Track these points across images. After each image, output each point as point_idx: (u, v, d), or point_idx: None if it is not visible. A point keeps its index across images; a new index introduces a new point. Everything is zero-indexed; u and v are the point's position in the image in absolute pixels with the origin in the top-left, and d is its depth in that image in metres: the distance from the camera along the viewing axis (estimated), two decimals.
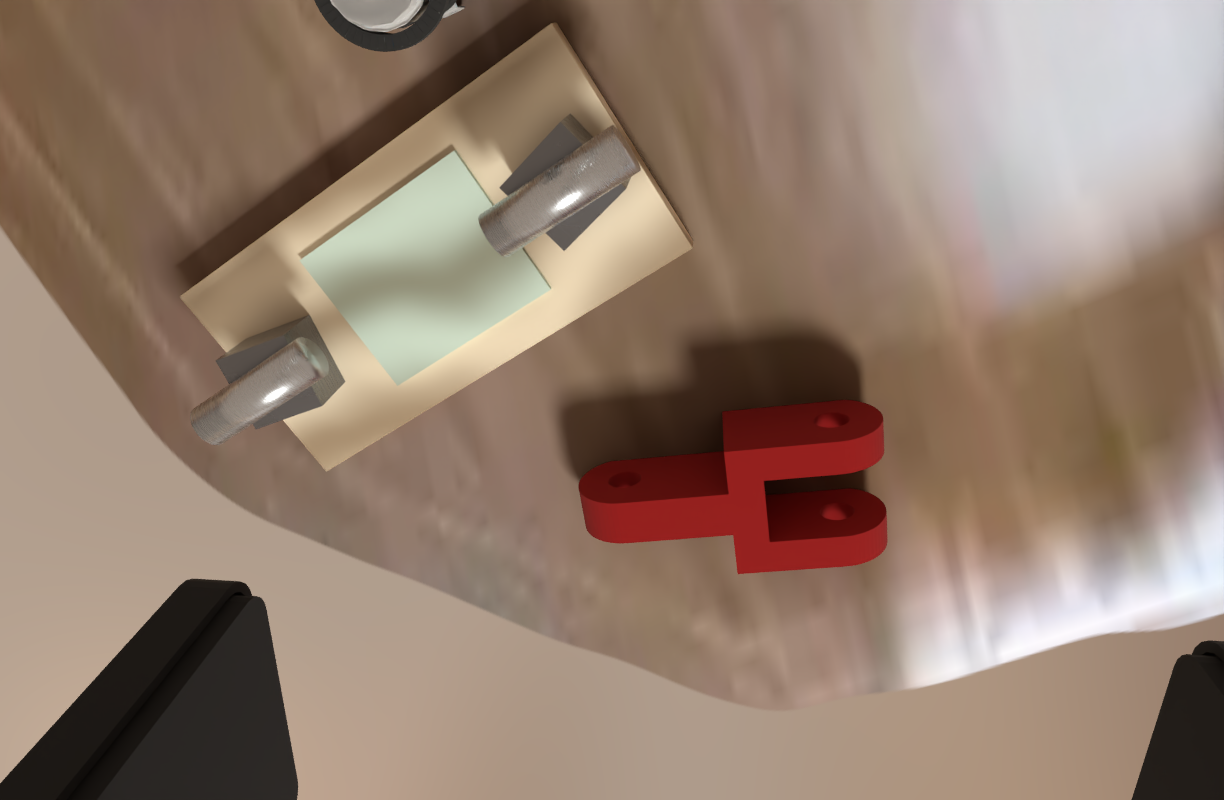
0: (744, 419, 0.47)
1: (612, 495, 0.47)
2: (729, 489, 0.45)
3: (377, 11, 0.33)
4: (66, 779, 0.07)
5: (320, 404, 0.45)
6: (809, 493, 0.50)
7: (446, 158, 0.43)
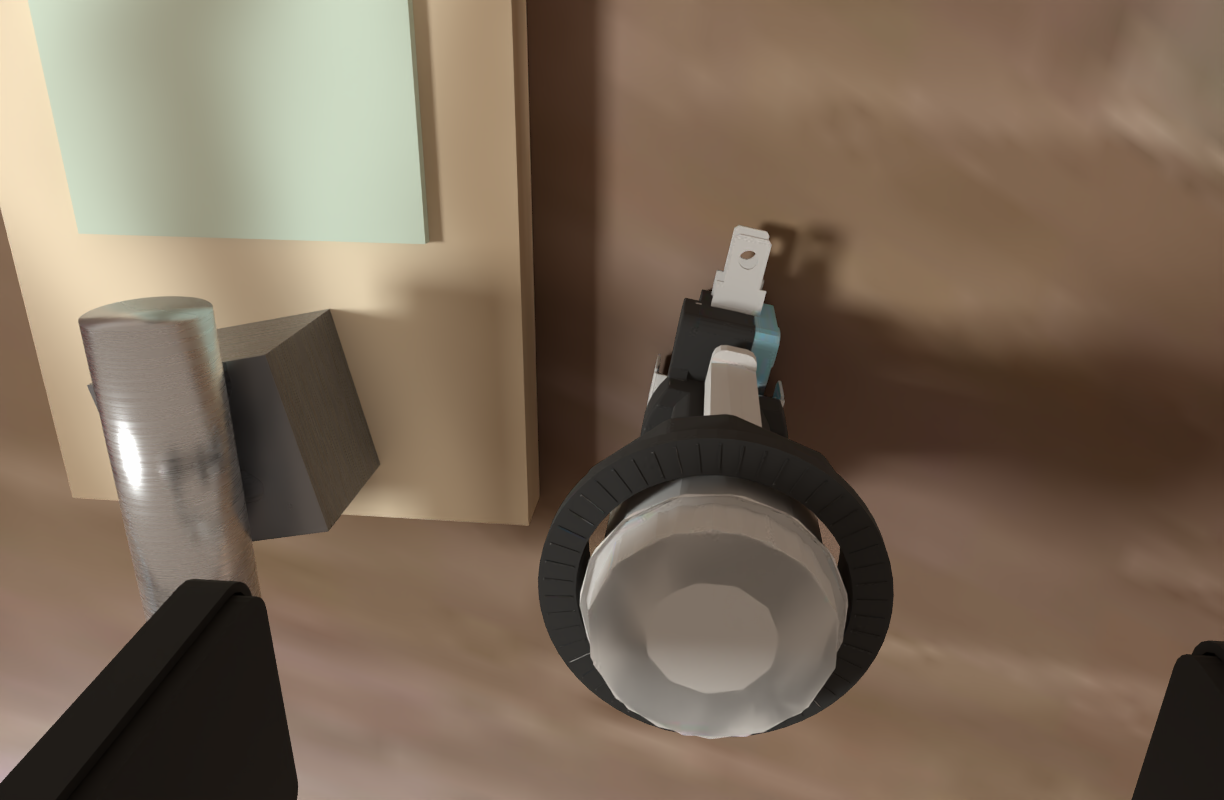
0: None
1: None
2: None
3: (629, 602, 0.13)
4: (66, 779, 0.07)
5: None
6: None
7: (420, 217, 0.19)
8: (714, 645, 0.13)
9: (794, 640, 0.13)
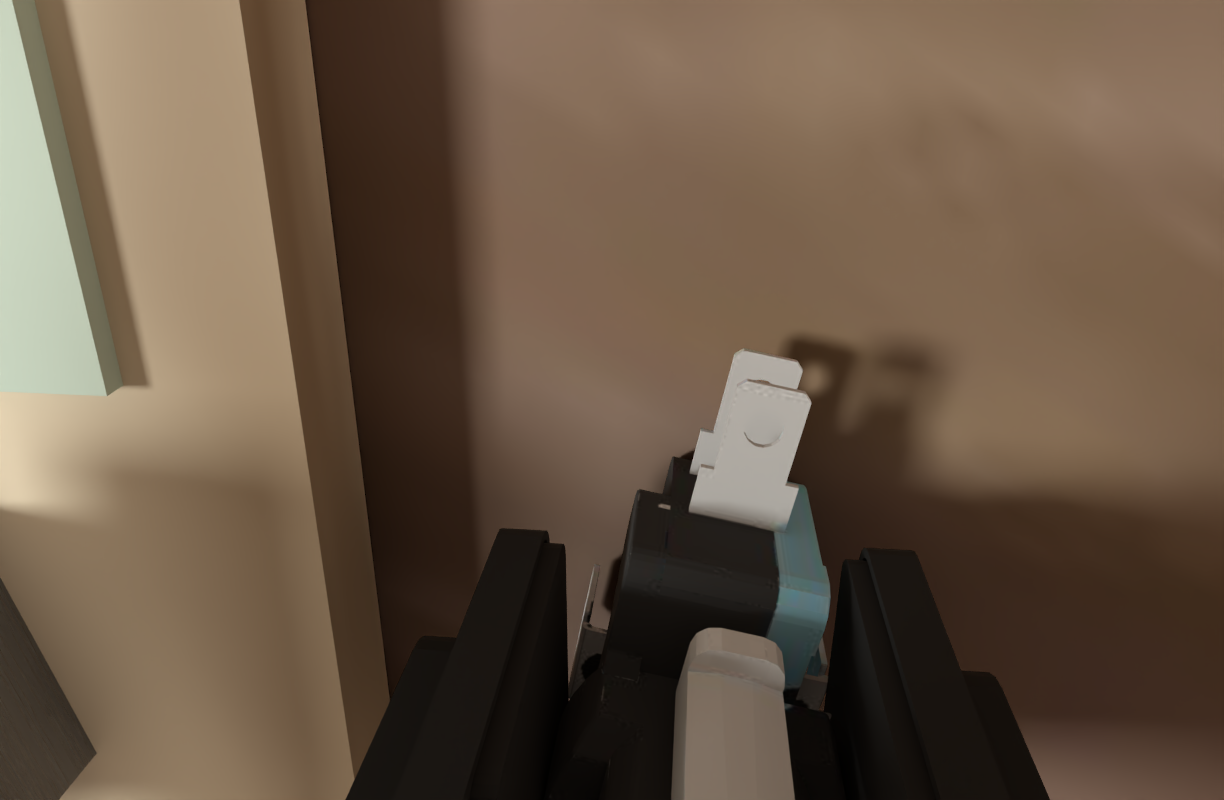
0: None
1: None
2: None
3: None
4: (490, 688, 0.08)
5: None
6: None
7: (92, 343, 0.10)
8: None
9: None
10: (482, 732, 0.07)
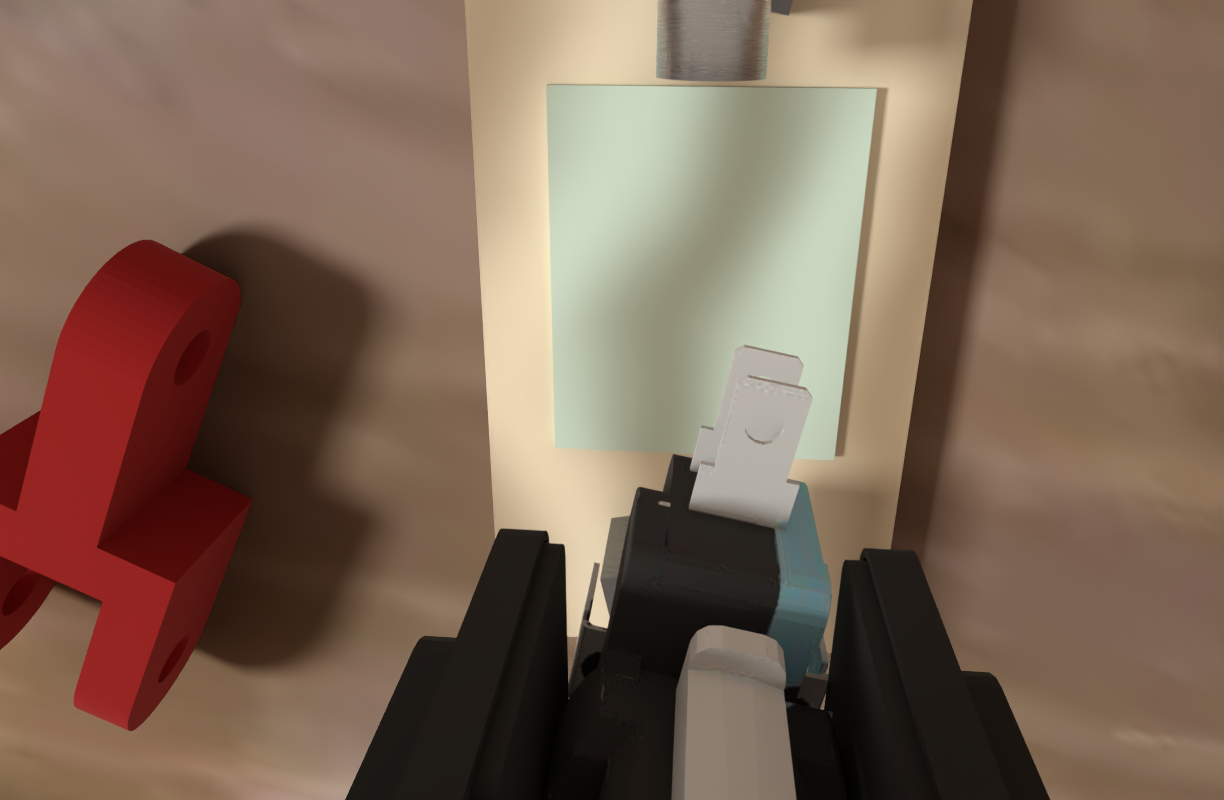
0: (224, 545, 0.29)
1: (166, 363, 0.24)
2: (105, 553, 0.26)
3: None
4: (489, 689, 0.08)
5: None
6: None
7: (832, 440, 0.25)
8: None
9: None
10: (482, 732, 0.07)
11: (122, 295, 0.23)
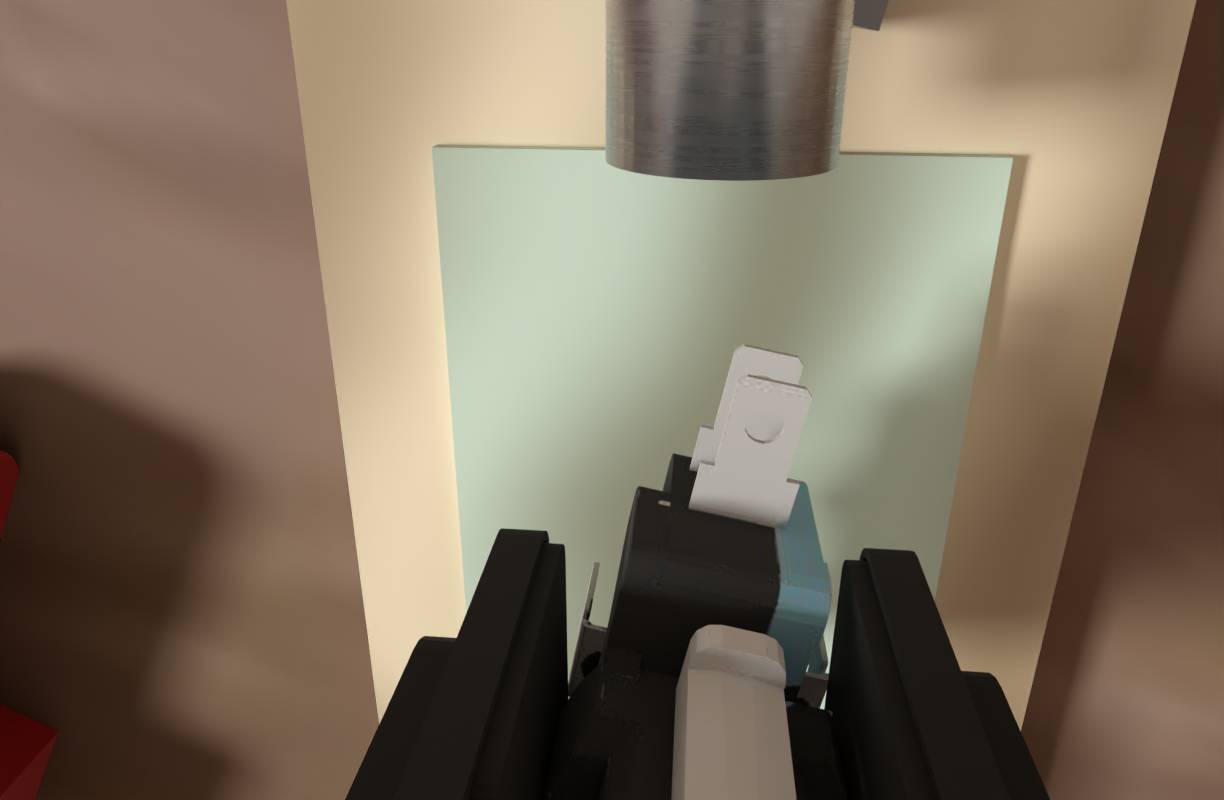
0: None
1: None
2: None
3: None
4: (490, 689, 0.08)
5: None
6: None
7: None
8: None
9: None
10: (482, 732, 0.07)
11: None
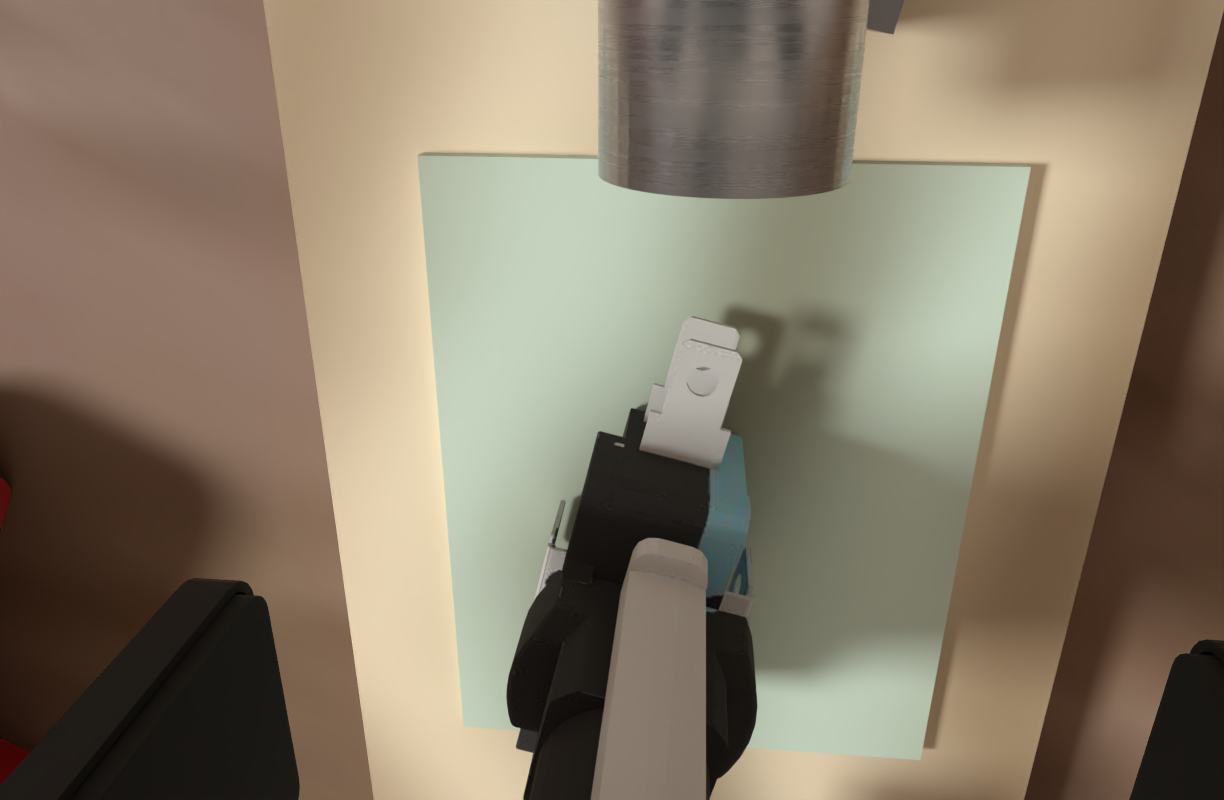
0: None
1: None
2: None
3: None
4: (69, 778, 0.07)
5: None
6: None
7: (918, 730, 0.15)
8: None
9: None
10: None
11: None
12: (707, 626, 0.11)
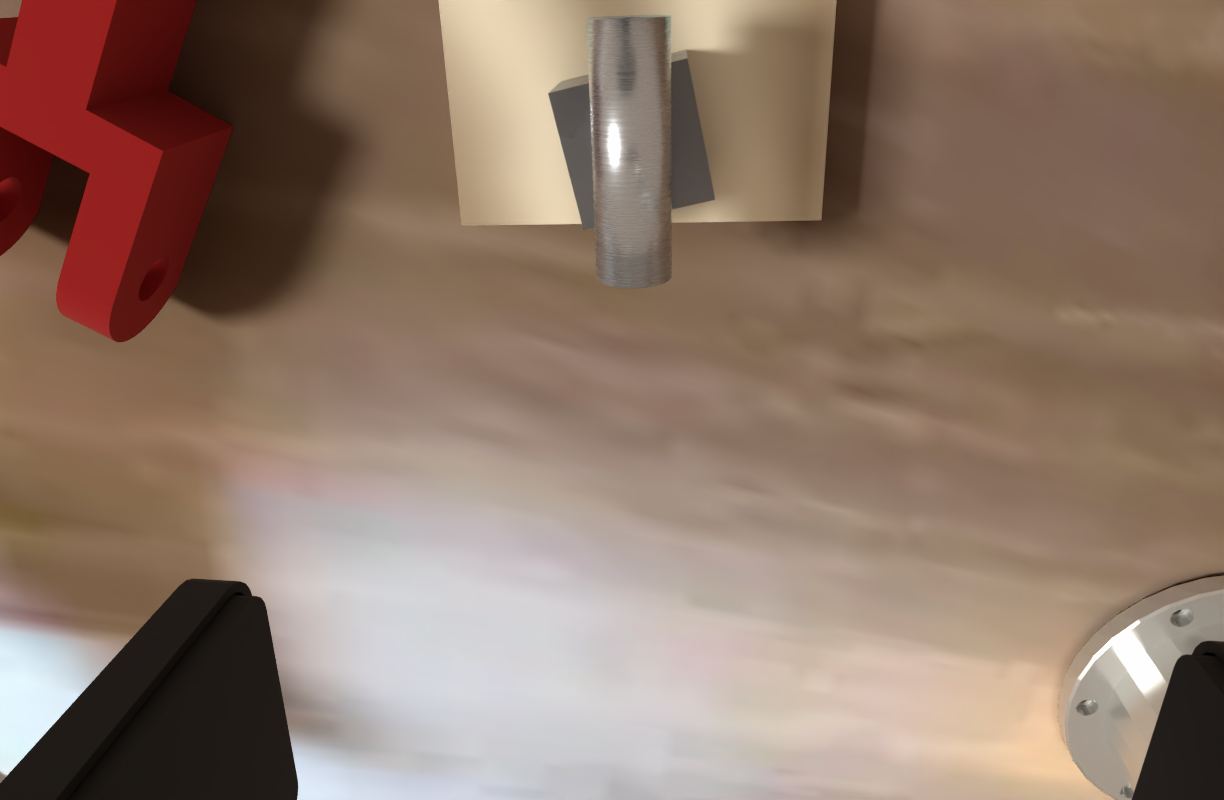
0: (206, 162, 0.30)
1: None
2: (94, 116, 0.26)
3: None
4: (66, 779, 0.07)
5: None
6: (50, 157, 0.32)
7: None
8: None
9: None
10: None
11: None
12: None
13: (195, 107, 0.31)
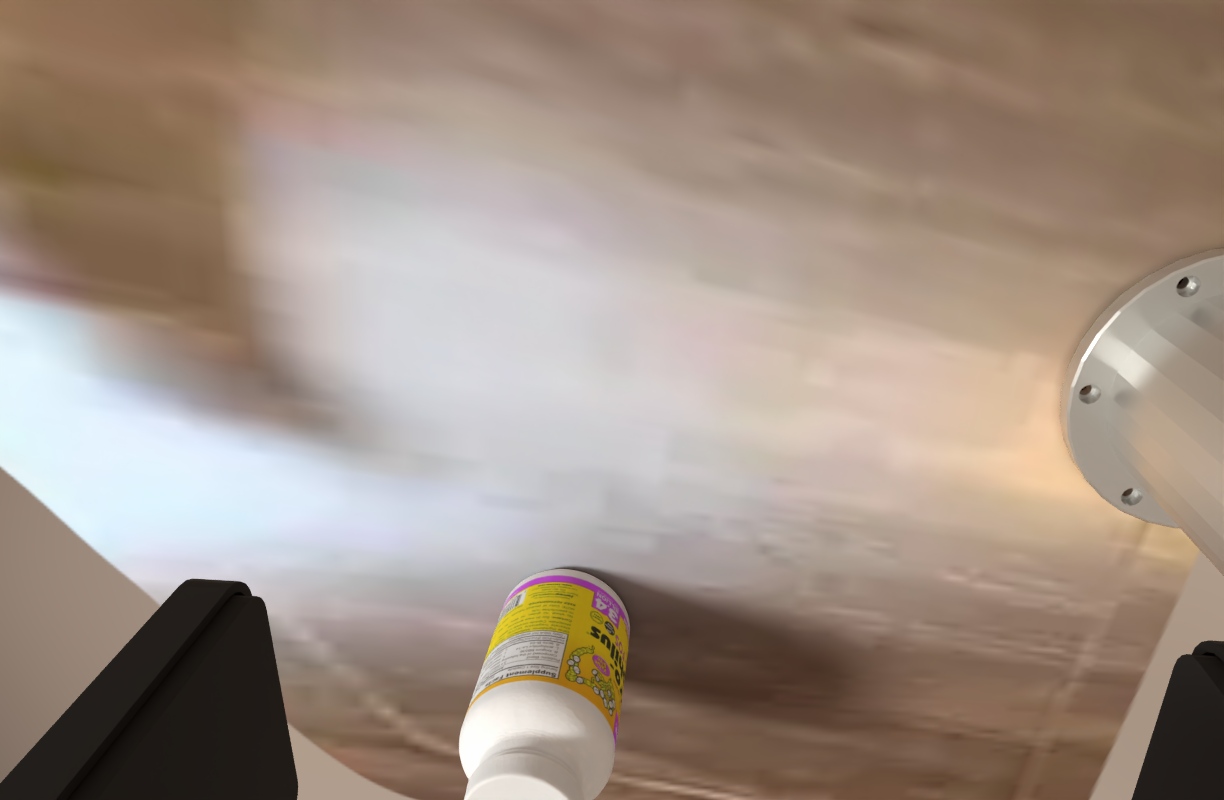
0: None
1: None
2: None
3: None
4: (66, 779, 0.07)
5: None
6: None
7: None
8: None
9: None
10: None
11: None
12: None
13: None
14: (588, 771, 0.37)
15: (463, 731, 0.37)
